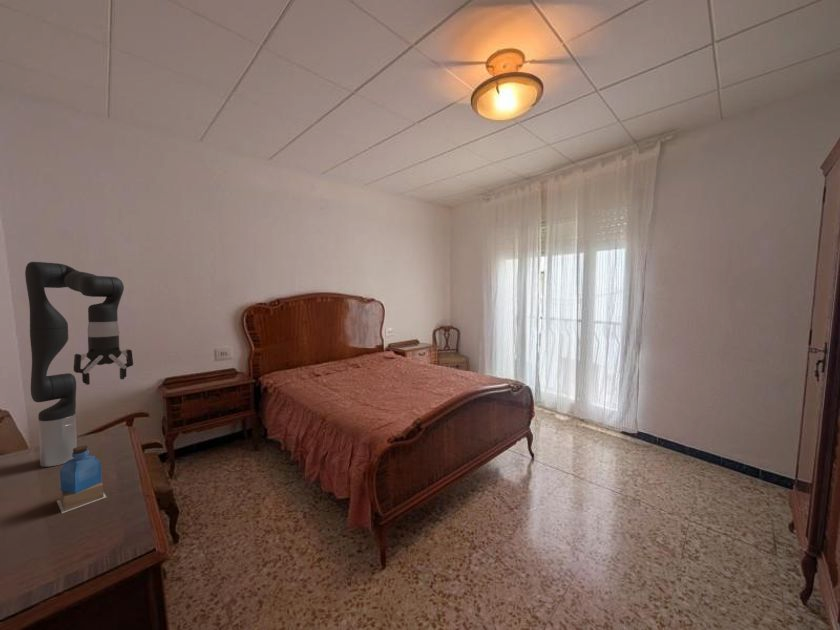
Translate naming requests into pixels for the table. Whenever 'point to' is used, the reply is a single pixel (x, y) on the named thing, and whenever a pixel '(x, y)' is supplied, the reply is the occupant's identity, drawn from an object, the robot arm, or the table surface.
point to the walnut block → (81, 496)
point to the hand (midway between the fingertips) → (105, 381)
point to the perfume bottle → (80, 471)
